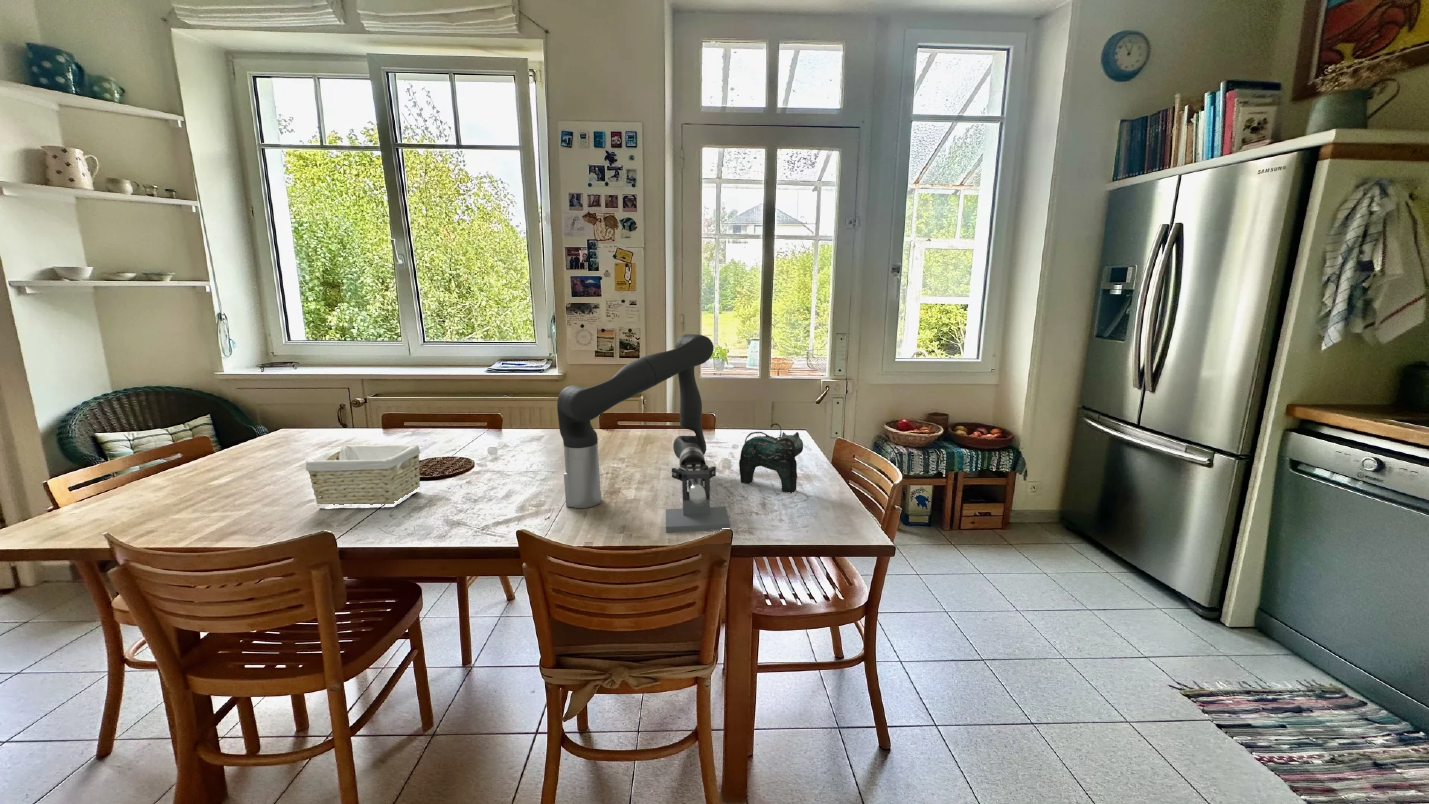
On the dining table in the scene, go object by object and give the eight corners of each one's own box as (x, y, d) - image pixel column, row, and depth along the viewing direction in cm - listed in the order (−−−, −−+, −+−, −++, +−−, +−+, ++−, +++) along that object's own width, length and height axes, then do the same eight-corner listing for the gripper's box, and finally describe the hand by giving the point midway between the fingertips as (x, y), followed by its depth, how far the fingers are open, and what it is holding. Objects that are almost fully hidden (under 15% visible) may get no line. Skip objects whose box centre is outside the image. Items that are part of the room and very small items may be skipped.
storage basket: (309, 511, 148) (300, 460, 145) (350, 490, 164) (342, 443, 161) (395, 511, 148) (388, 460, 145) (427, 490, 164) (421, 443, 161)
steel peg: (690, 507, 131) (689, 491, 130) (688, 490, 141) (687, 476, 141) (706, 506, 131) (706, 490, 130) (703, 490, 142) (703, 475, 141)
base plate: (666, 532, 133) (665, 511, 132) (665, 514, 144) (665, 494, 143) (730, 529, 134) (730, 508, 133) (725, 511, 145) (725, 492, 144)
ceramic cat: (803, 490, 160) (805, 425, 156) (793, 497, 155) (795, 429, 151) (745, 477, 171) (746, 416, 167) (735, 484, 166) (735, 420, 162)
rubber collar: (682, 500, 139) (682, 474, 137) (682, 496, 142) (681, 470, 140) (710, 499, 139) (709, 473, 138) (709, 495, 142) (708, 469, 141)
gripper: (669, 451, 157) (669, 470, 140) (714, 449, 158) (720, 468, 141) (670, 475, 158) (670, 497, 141) (714, 473, 159) (720, 495, 142)
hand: (695, 483), depth 141 cm, fingers closed
